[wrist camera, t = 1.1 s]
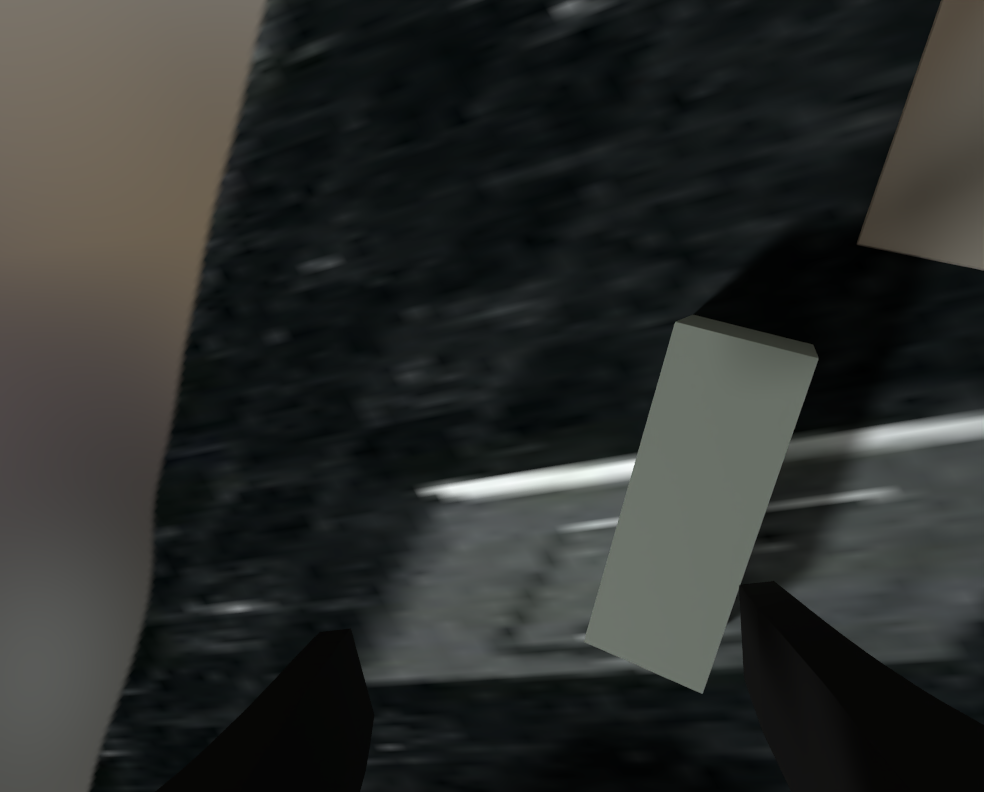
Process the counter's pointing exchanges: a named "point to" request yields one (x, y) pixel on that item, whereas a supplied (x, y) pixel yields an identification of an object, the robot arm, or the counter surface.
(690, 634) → the lintel
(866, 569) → the counter surface
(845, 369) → the counter surface
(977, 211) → the arch base
